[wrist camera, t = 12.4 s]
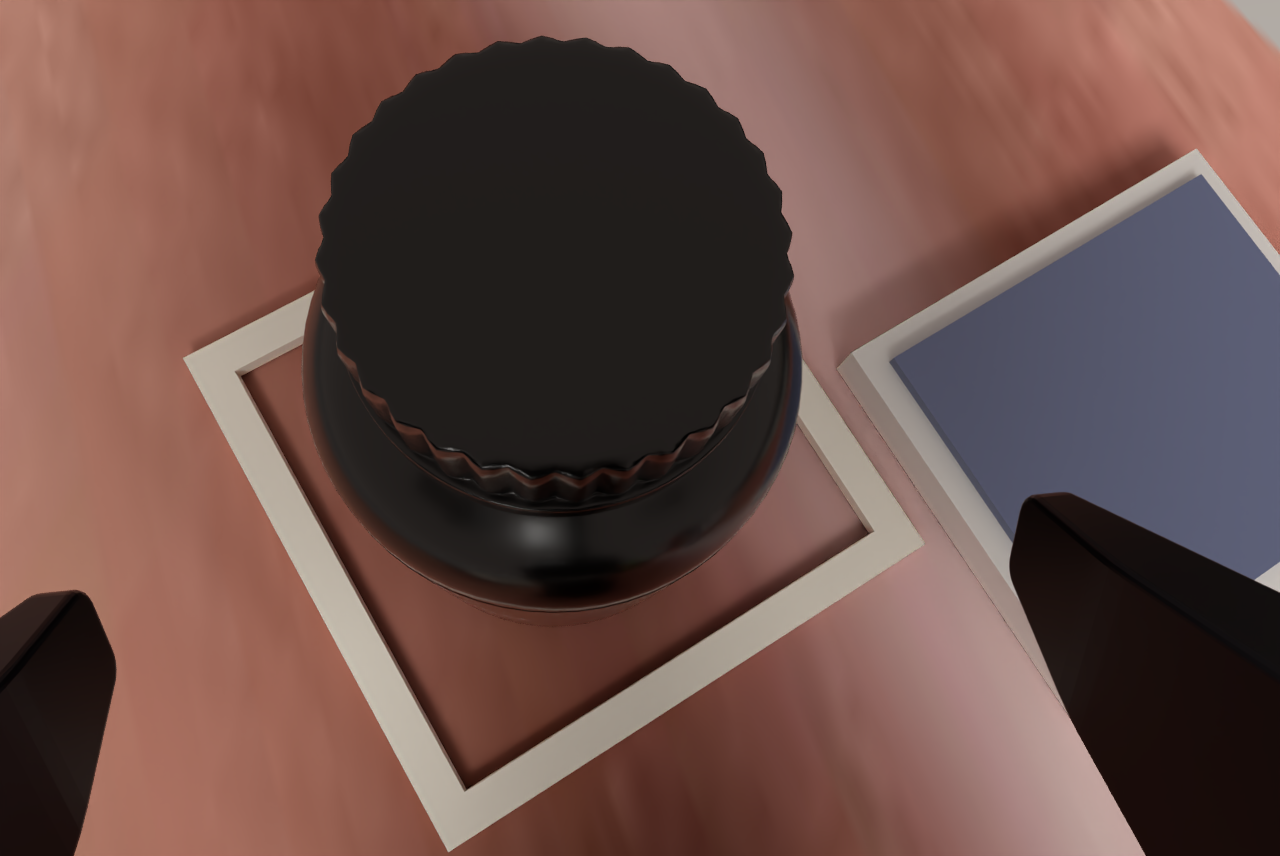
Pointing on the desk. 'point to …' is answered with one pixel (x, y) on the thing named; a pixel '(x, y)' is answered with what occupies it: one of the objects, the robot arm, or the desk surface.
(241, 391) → the marked square
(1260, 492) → the ink pad
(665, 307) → the supplement bottle
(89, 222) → the desk surface
